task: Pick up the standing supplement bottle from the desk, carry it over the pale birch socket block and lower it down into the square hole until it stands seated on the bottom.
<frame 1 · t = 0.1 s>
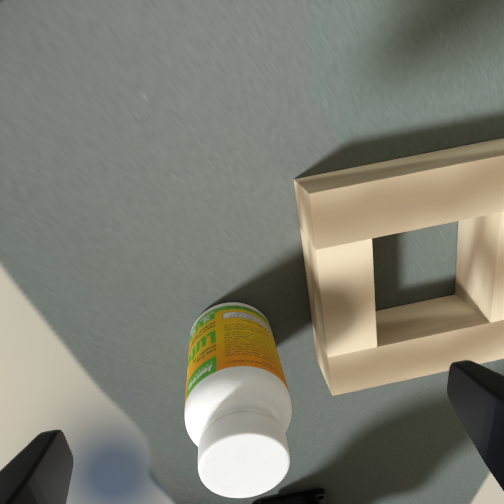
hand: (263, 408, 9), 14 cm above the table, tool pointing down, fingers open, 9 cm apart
supplement bottle: (230, 333, 25), on the table
socket block: (405, 258, 24), on the table
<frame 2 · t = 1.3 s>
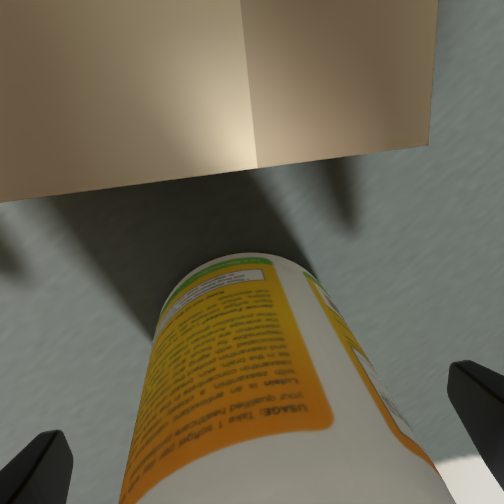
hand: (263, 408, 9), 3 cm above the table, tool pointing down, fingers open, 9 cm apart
supplement bottle: (245, 324, 12), on the table
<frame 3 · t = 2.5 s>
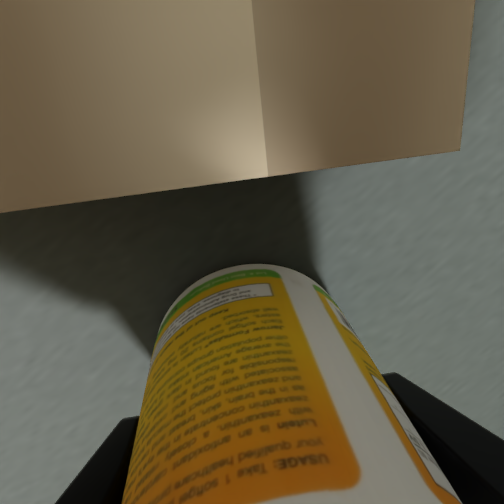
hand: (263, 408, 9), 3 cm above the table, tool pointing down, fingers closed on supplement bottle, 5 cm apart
supplement bottle: (250, 338, 11), on the table, touching gripper
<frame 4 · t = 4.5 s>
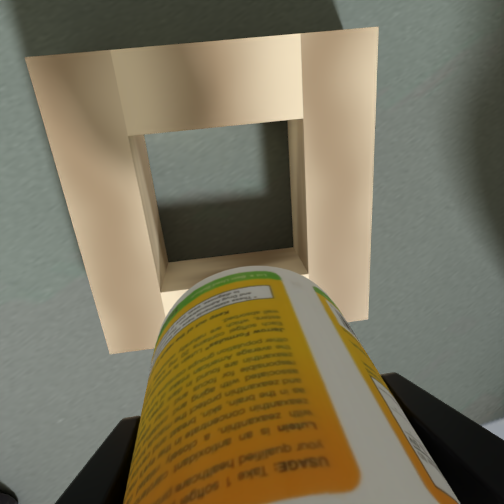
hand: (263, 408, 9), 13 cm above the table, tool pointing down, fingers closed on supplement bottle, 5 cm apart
supplement bottle: (250, 340, 11), point 10 cm above the table, touching gripper
socket block: (224, 193, 19), on the table
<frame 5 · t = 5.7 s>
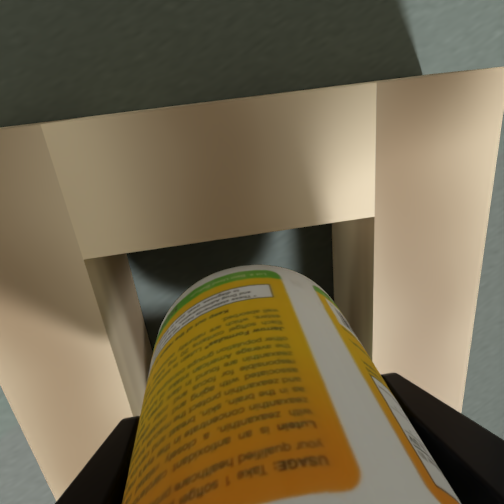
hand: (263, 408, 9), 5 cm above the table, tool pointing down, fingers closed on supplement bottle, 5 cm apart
supplement bottle: (250, 339, 11), point 3 cm above the table, touching gripper
socket block: (238, 294, 14), on the table
when the fingers open (4 cm above the table, at t = 6.6 s): supplement bottle drops 2 cm, resting in socket block.
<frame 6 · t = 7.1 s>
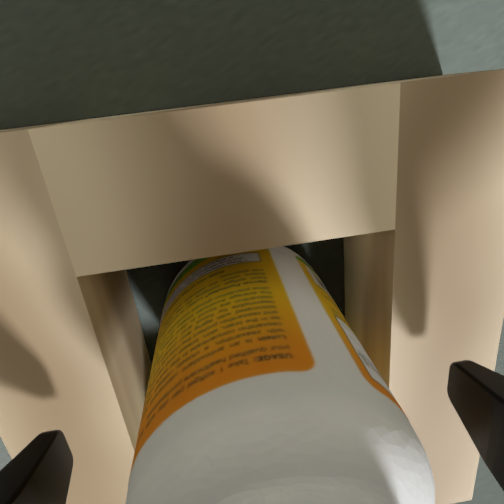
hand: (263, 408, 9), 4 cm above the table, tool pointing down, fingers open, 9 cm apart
supplement bottle: (244, 306, 13), resting in socket block
socket block: (244, 307, 13), on the table
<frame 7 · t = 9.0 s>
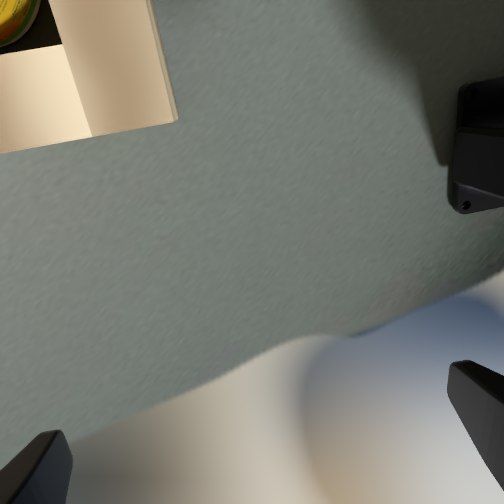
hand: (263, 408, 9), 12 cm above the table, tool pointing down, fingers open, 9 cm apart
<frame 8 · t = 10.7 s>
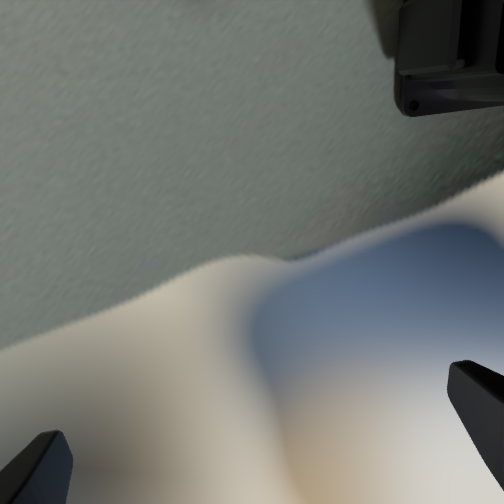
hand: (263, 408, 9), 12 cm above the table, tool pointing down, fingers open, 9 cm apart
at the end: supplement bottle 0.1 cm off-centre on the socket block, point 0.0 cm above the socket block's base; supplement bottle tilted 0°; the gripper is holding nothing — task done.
